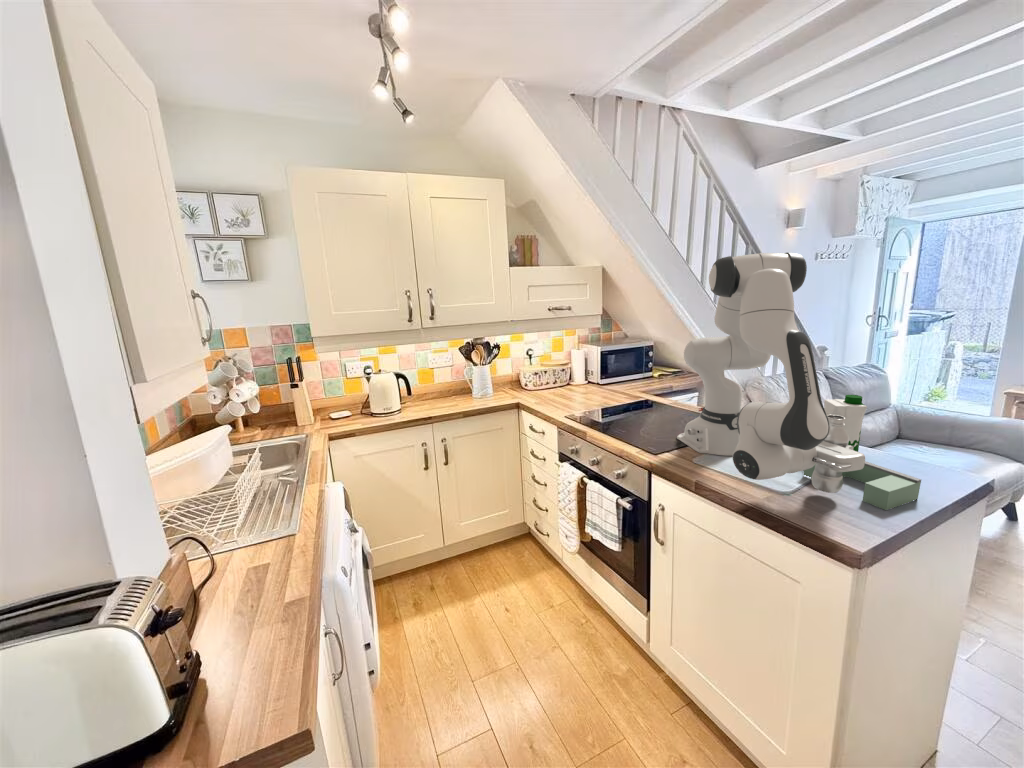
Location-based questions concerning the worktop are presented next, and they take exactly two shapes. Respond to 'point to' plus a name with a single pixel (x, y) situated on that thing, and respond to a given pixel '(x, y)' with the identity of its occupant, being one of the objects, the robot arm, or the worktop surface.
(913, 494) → the green u-shaped bracket
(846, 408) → the milk carton
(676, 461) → the worktop surface
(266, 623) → the worktop surface
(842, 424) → the plastic bottle
